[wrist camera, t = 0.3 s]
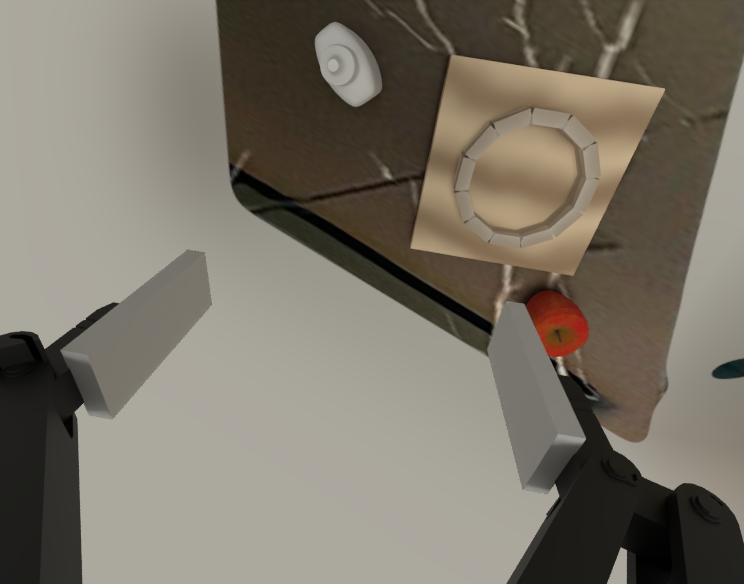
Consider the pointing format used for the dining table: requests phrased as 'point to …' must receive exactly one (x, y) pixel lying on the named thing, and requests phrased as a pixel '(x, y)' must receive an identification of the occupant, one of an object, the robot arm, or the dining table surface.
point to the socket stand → (526, 162)
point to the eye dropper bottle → (347, 64)
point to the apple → (557, 323)
